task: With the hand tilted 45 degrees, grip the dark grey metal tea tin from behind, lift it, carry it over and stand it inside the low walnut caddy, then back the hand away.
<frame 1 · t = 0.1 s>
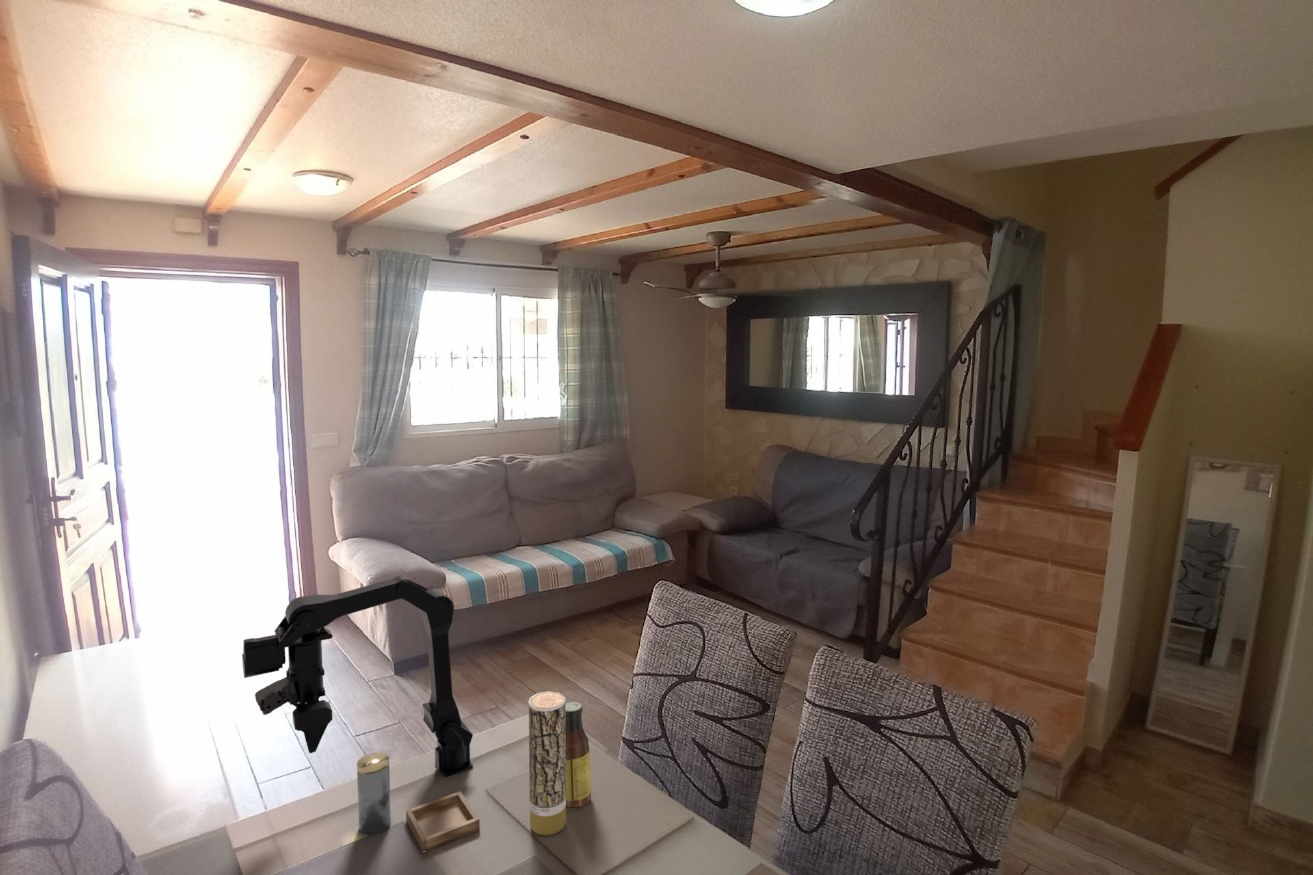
hand: (309, 741, 131), 15 cm above the table, tool pointing down, fingers open, 9 cm apart
sauce bottle: (574, 800, 136), on the table
walnut caddy: (442, 825, 128), on the table
tea tin: (375, 825, 128), on the table
paper tube: (548, 826, 128), on the table
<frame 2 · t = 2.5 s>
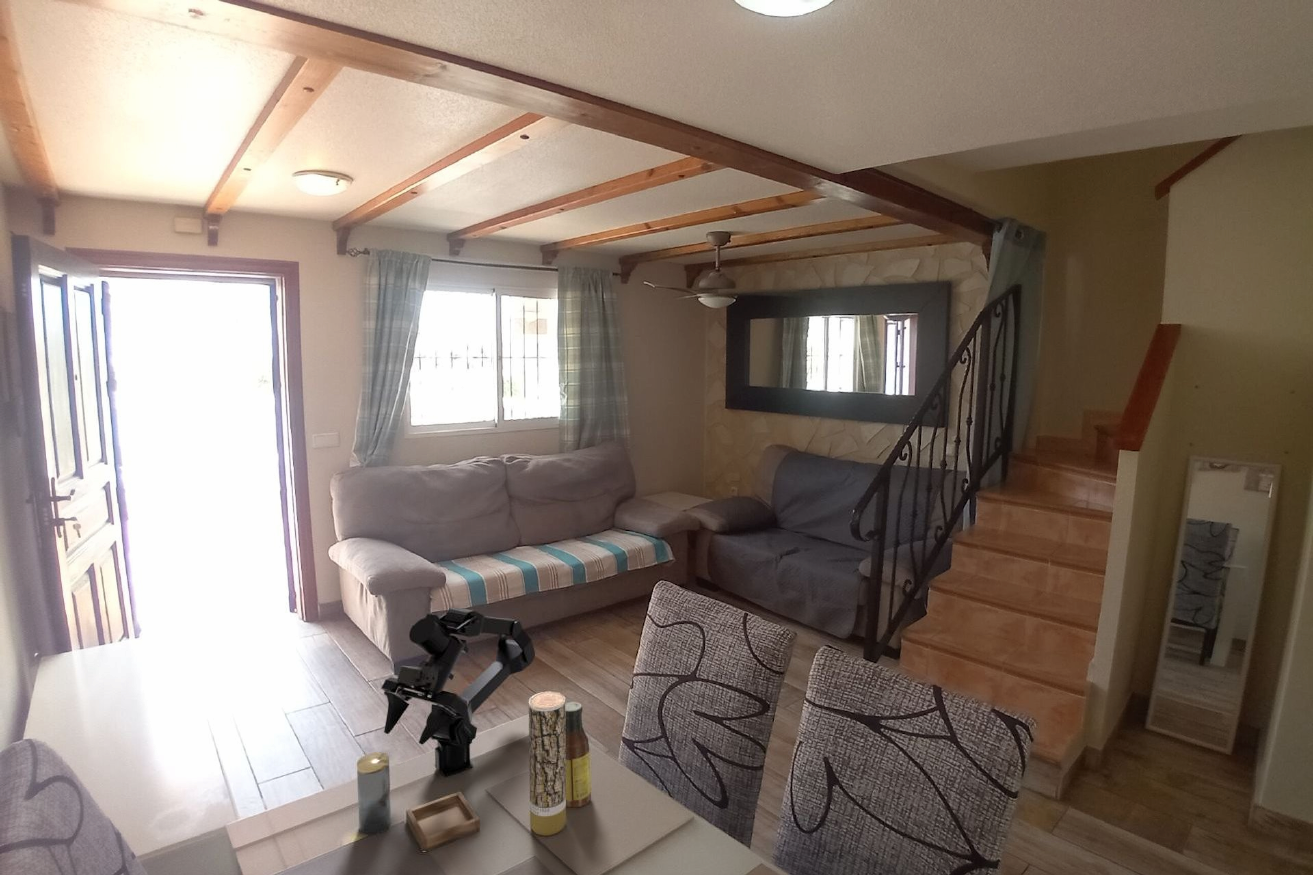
hand: (403, 738, 134), 13 cm above the table, tool tilted 45°, fingers open, 9 cm apart
nothing on the table moved.
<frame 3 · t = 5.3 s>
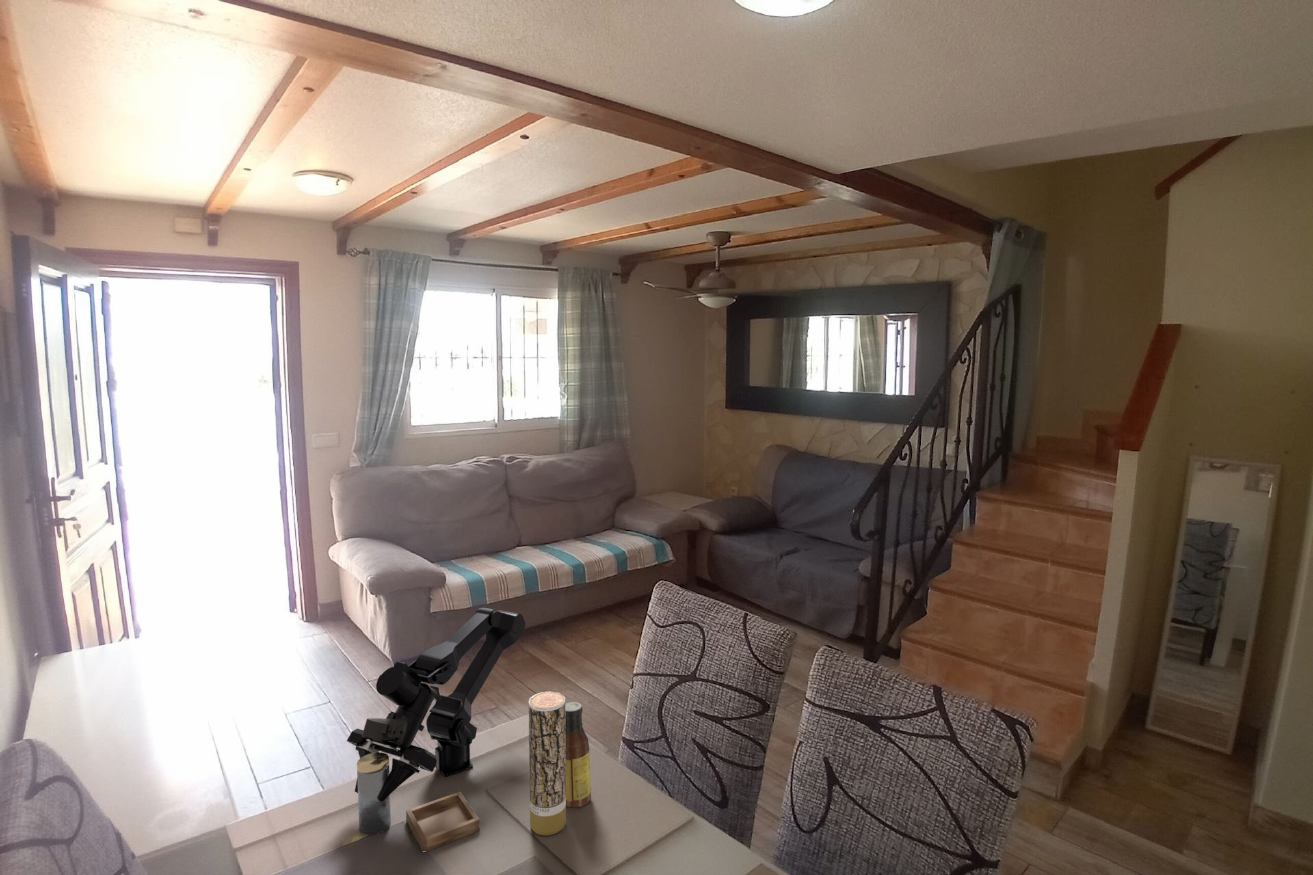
hand: (368, 796, 126), 7 cm above the table, tool tilted 45°, fingers closed on tea tin, 6 cm apart
tea tin: (375, 825, 128), on the table, touching gripper
everything else where it was.
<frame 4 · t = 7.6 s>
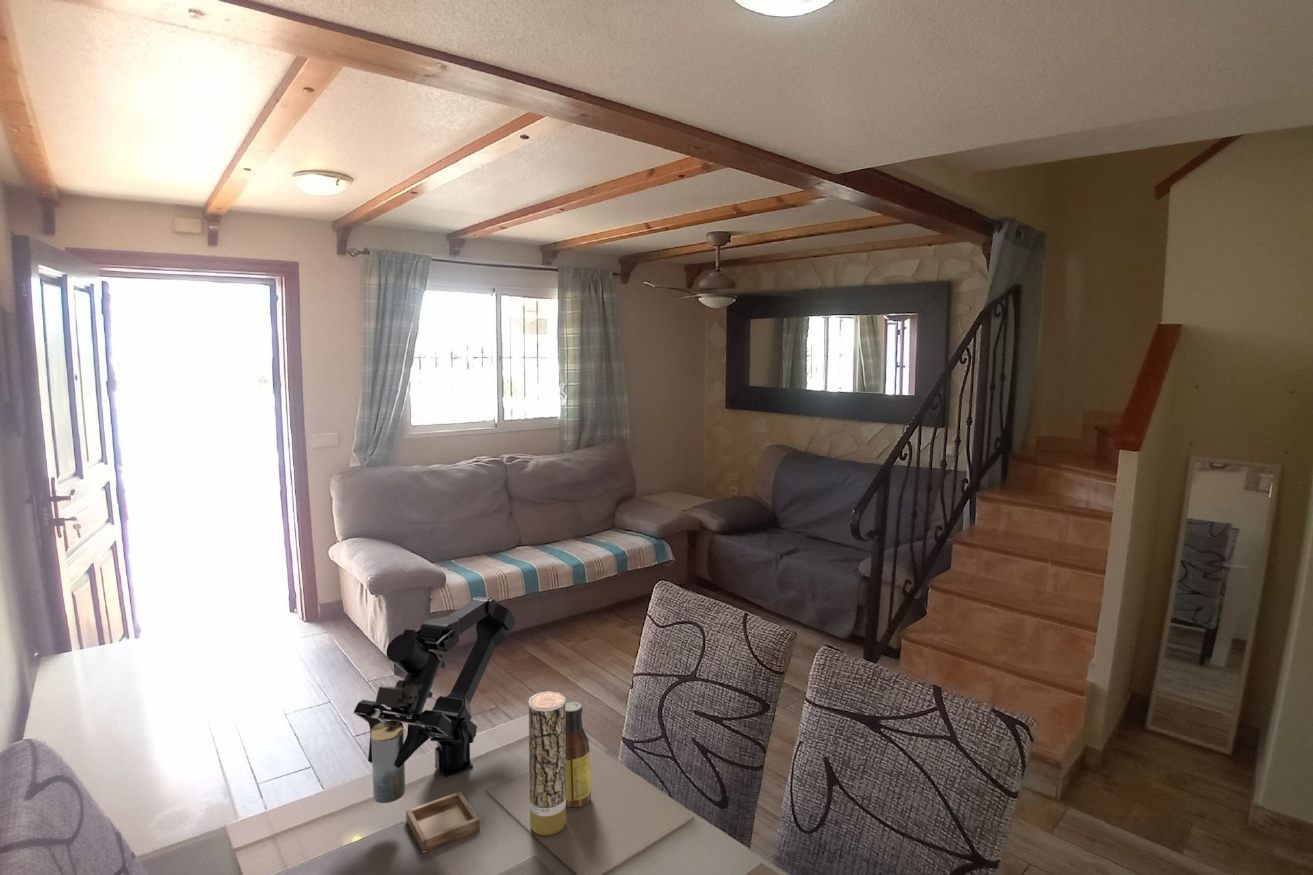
hand: (383, 764, 125), 13 cm above the table, tool tilted 45°, fingers closed on tea tin, 6 cm apart
tea tin: (389, 793, 127), point 7 cm above the table, touching gripper
everything else where it was.
when the fingers open (8 cm above the table, at t = 10.1 s): tea tin stays where it is, resting on walnut caddy.
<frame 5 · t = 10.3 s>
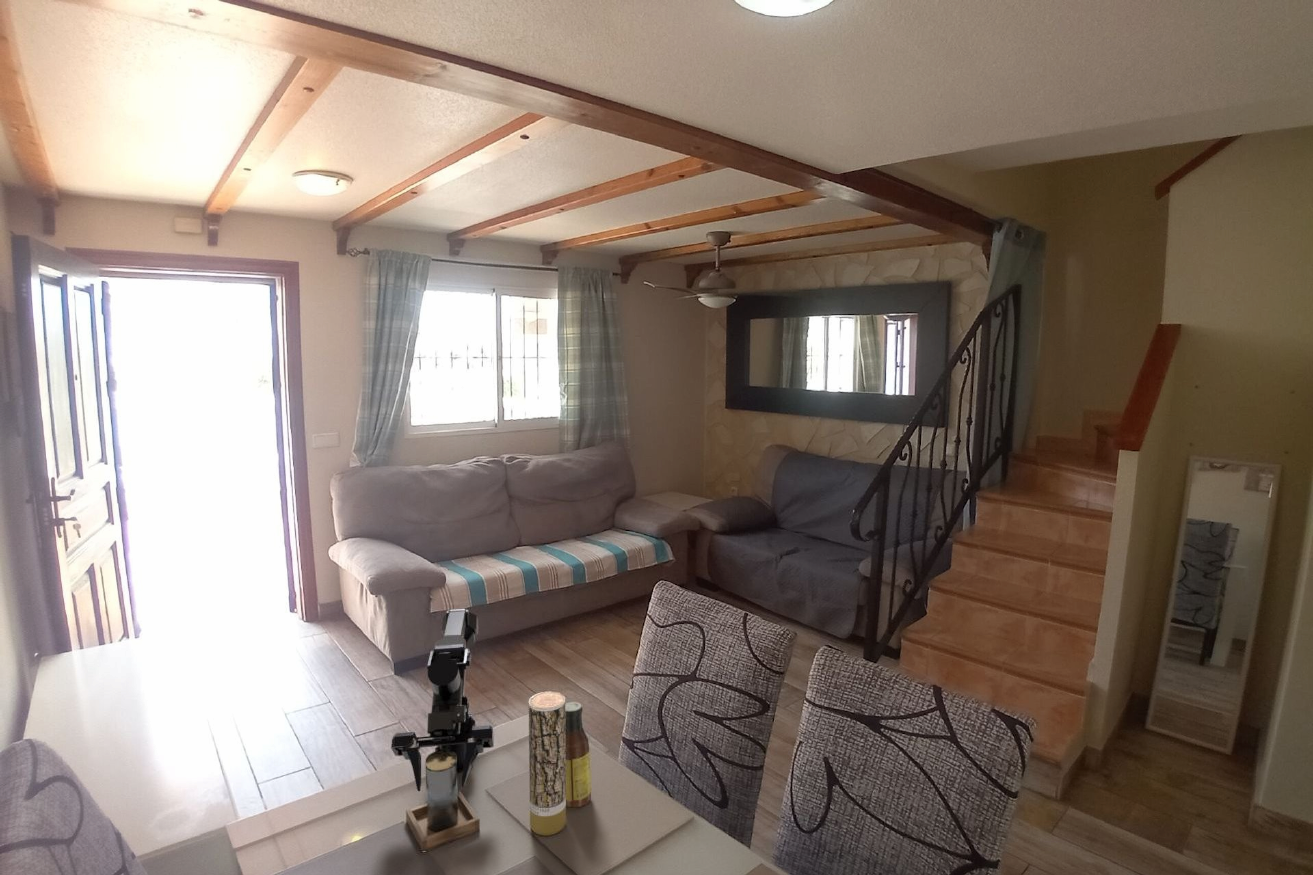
hand: (440, 788, 126), 8 cm above the table, tool tilted 45°, fingers open, 8 cm apart
tea tin: (442, 821, 128), point 1 cm above the table, touching walnut caddy
everything else where it was.
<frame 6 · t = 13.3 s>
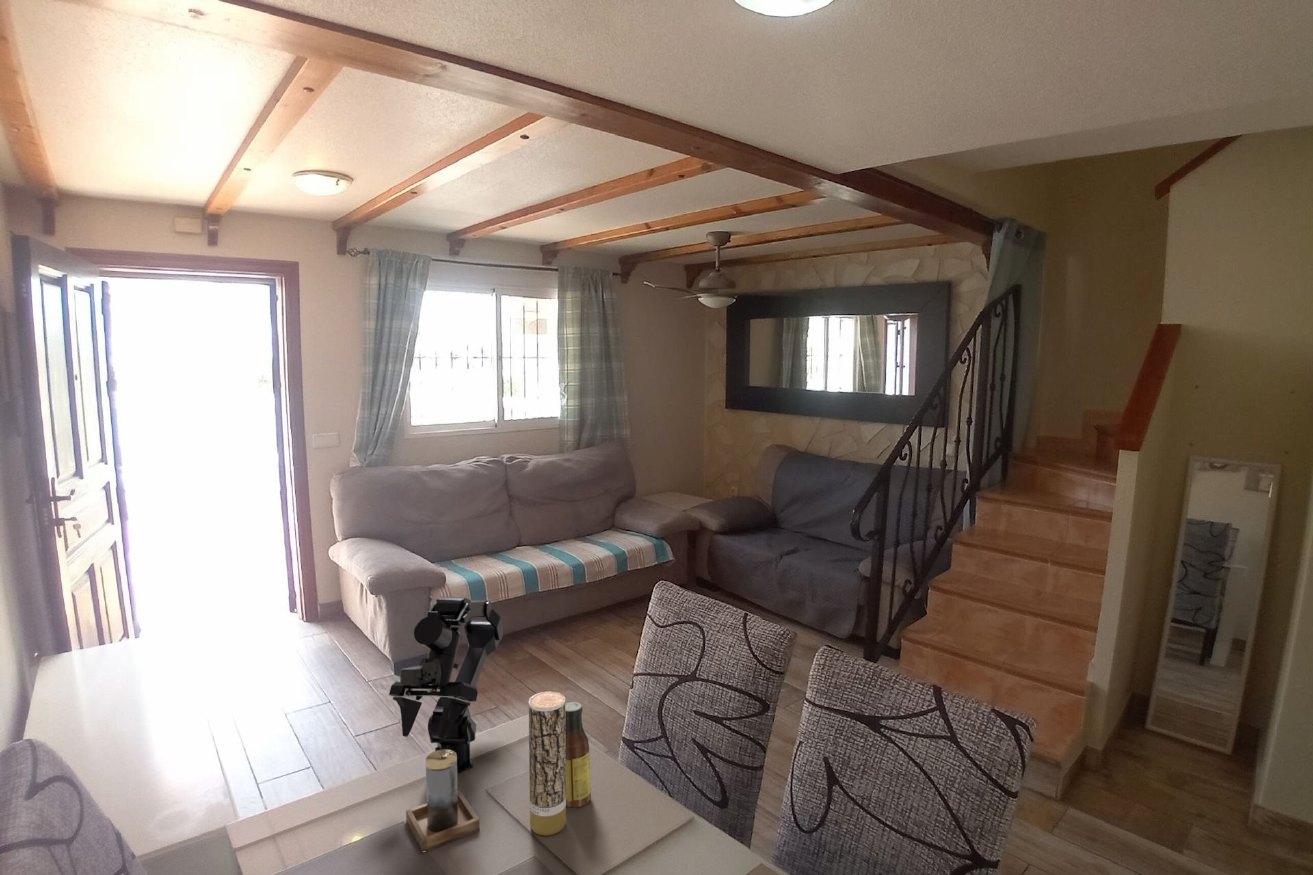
hand: (422, 737, 133), 14 cm above the table, tool tilted 35°, fingers open, 9 cm apart
nothing on the table moved.
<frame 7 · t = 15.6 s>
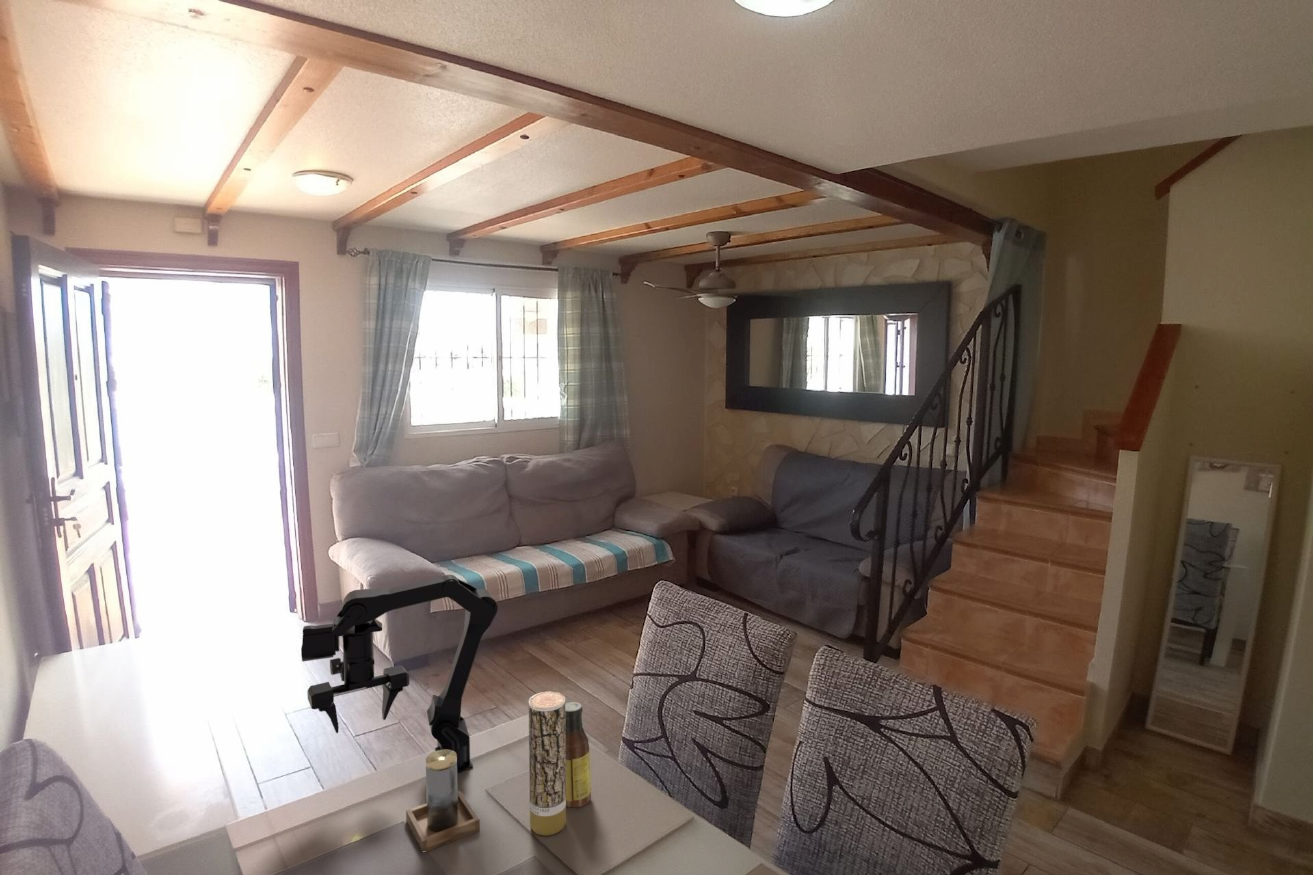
hand: (360, 725, 140), 13 cm above the table, tool pointing down, fingers open, 9 cm apart
nothing on the table moved.
at the end: tea tin 0.1 cm off-centre on the walnut caddy, point 0.6 cm above the walnut caddy's base; tea tin tilted 0°; the gripper is holding nothing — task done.
